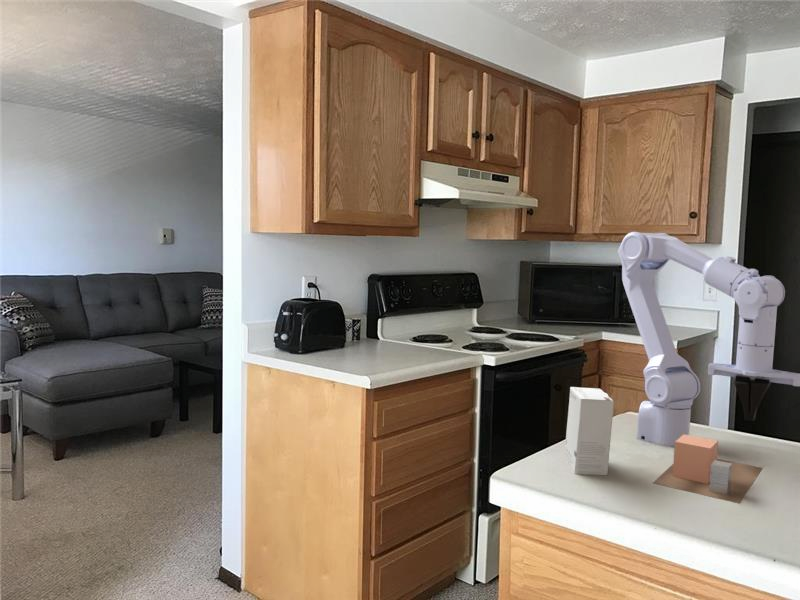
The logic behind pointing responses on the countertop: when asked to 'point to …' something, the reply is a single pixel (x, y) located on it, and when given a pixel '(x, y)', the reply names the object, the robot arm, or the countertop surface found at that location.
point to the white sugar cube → (720, 477)
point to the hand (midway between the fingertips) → (749, 419)
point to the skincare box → (588, 431)
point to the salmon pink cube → (694, 458)
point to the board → (739, 482)
